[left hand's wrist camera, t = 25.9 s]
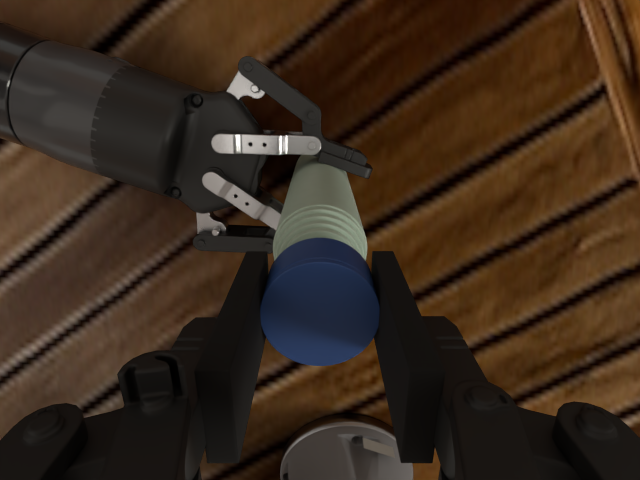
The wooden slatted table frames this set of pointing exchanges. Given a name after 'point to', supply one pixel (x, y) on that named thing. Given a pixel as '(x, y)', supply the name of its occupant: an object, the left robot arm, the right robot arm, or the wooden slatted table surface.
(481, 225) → the wooden slatted table surface
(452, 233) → the wooden slatted table surface
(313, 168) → the bottle
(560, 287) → the wooden slatted table surface
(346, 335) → the cap
